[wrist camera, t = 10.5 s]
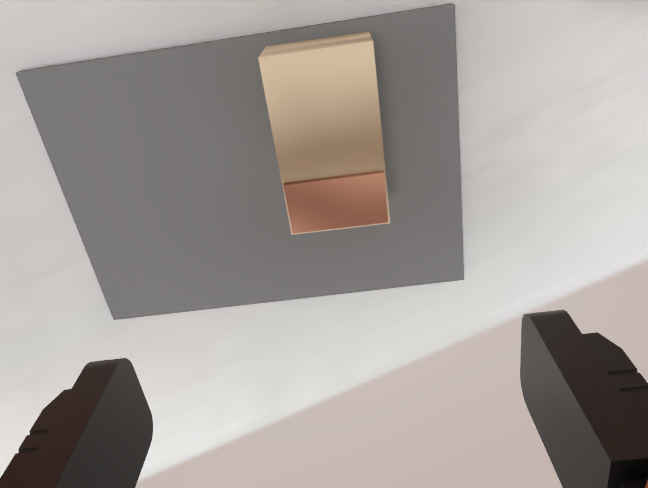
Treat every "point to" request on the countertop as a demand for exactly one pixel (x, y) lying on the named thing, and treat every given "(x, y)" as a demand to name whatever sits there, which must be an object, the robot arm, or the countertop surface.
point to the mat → (247, 170)
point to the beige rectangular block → (327, 131)
